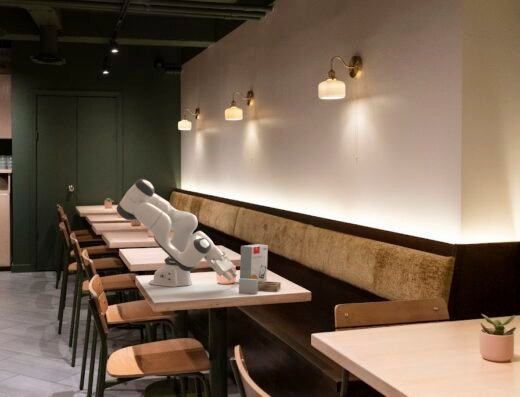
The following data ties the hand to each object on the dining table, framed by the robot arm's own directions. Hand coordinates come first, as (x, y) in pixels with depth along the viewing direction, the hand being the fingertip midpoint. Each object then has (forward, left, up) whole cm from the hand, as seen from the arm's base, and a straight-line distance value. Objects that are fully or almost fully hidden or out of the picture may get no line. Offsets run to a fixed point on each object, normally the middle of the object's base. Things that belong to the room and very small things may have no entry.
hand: (233, 278), depth 324 cm
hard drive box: (+3, +33, -7) cm, 34 cm away
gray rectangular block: (+12, 0, -3) cm, 13 cm away
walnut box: (+15, +13, -7) cm, 21 cm away
